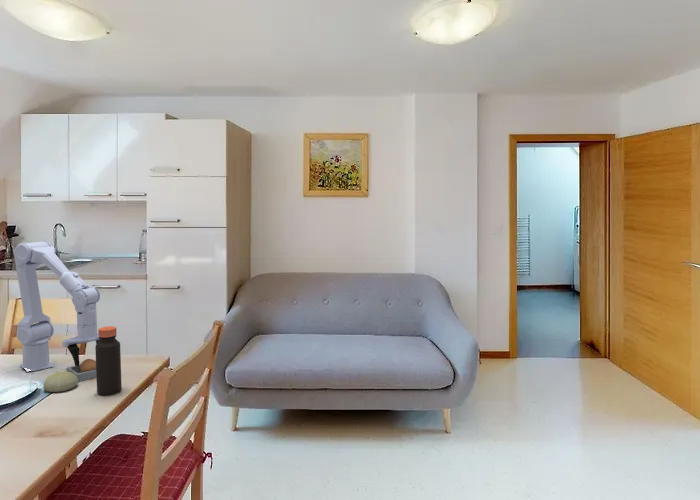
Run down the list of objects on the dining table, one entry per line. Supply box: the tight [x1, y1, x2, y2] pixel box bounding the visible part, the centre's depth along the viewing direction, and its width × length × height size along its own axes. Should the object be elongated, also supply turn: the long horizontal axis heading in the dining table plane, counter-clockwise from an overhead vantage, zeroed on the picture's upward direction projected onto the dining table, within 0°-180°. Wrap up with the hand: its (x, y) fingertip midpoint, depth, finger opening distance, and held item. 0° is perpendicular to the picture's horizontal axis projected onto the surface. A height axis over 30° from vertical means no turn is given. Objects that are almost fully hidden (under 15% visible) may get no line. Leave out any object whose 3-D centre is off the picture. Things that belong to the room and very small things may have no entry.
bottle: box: [94, 325, 123, 397], centre depth 144 cm, size 7×7×20 cm
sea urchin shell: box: [42, 370, 79, 393], centre depth 147 cm, size 9×8×8 cm
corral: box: [65, 363, 97, 383], centre depth 158 cm, size 10×11×2 cm
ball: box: [79, 358, 96, 373], centre depth 158 cm, size 5×5×5 cm
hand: (88, 363), depth 158 cm, fingers open, 6 cm apart
